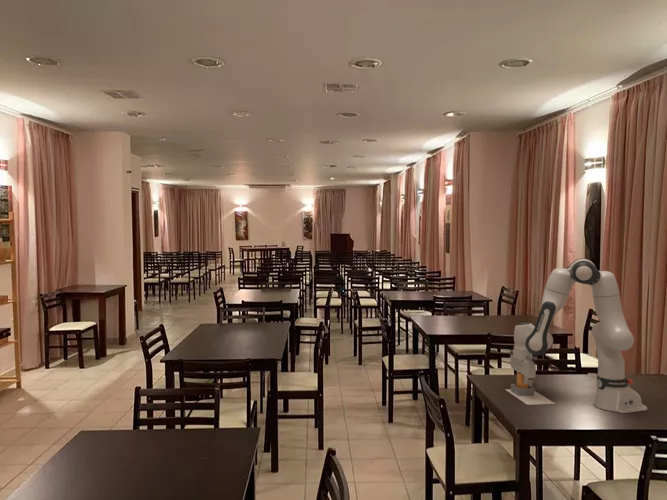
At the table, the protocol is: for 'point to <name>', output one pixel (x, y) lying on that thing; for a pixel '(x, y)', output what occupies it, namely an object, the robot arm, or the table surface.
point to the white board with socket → (528, 395)
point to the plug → (521, 381)
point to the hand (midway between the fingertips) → (522, 382)
